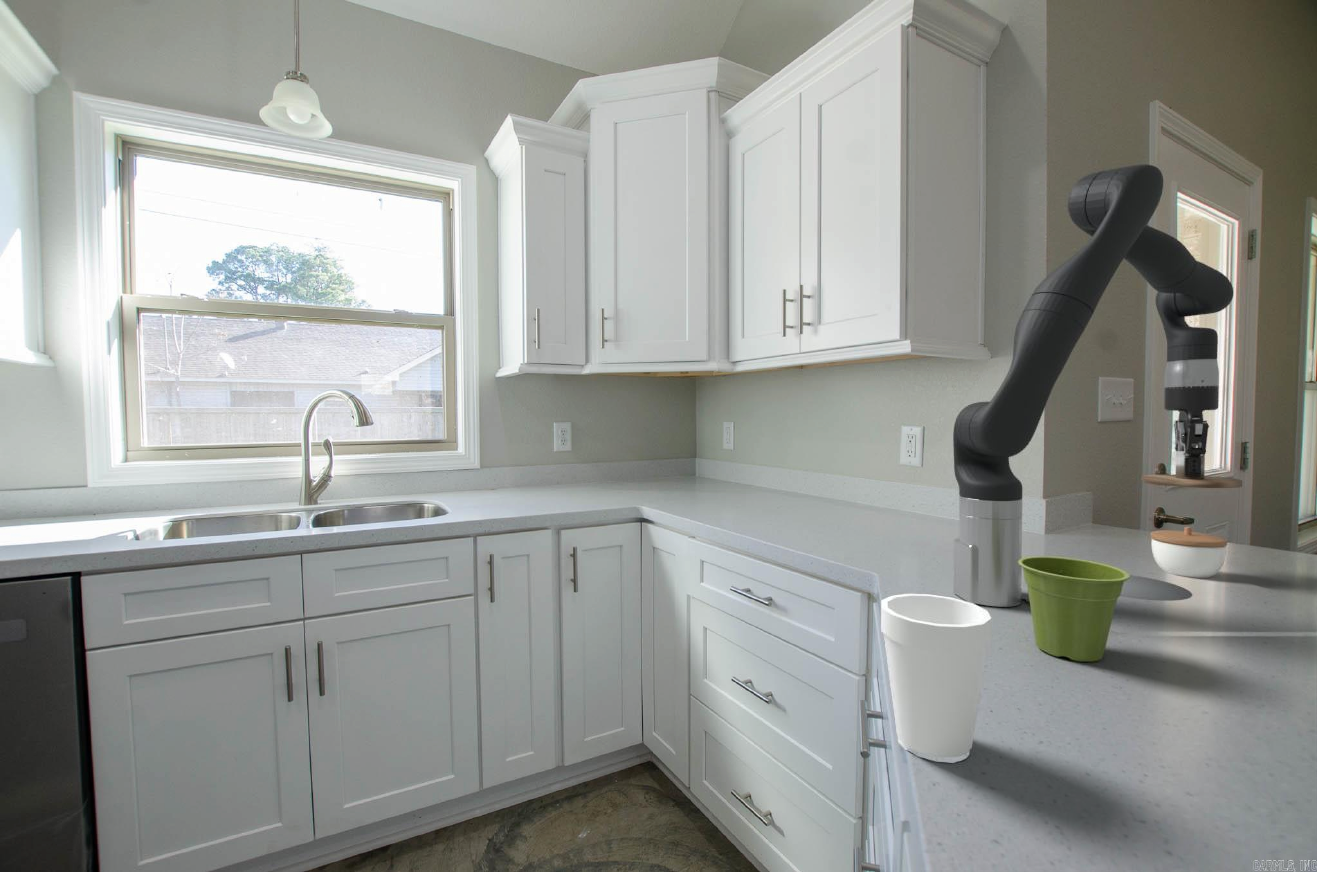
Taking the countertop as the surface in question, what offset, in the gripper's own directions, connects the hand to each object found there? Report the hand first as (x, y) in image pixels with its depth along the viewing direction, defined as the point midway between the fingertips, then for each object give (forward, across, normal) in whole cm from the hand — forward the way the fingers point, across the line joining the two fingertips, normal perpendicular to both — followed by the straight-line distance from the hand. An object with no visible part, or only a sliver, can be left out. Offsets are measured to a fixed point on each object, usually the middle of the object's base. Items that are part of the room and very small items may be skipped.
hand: (1189, 475), depth 110 cm
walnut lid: (+1, 0, 0) cm, 1 cm away
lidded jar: (+19, 0, 0) cm, 19 cm away
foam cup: (+19, -86, +33) cm, 94 cm away
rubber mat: (+19, -15, +11) cm, 27 cm away
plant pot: (+19, -54, +21) cm, 61 cm away
